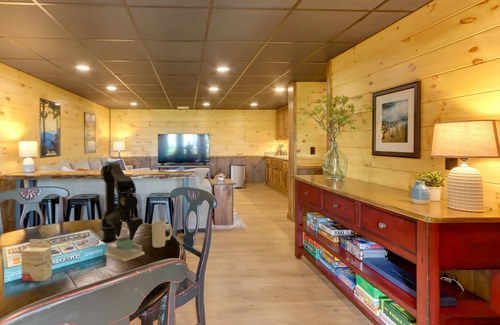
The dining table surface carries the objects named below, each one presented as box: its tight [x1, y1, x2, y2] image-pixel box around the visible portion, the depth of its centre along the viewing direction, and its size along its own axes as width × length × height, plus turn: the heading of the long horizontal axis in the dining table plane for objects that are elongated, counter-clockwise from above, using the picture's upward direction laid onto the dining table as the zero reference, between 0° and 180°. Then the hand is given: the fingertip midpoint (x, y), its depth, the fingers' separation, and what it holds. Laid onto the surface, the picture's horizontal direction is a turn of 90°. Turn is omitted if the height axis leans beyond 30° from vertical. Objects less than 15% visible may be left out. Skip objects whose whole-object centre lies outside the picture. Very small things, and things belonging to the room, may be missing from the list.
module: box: [115, 235, 134, 251], centre depth 142 cm, size 6×4×6 cm, turn 149°
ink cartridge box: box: [20, 238, 53, 282], centre depth 116 cm, size 9×5×15 cm, turn 92°
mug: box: [151, 220, 173, 249], centre depth 156 cm, size 10×7×12 cm, turn 103°
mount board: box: [104, 243, 145, 263], centre depth 143 cm, size 14×11×4 cm
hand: (124, 238), depth 142 cm, fingers open, 9 cm apart
